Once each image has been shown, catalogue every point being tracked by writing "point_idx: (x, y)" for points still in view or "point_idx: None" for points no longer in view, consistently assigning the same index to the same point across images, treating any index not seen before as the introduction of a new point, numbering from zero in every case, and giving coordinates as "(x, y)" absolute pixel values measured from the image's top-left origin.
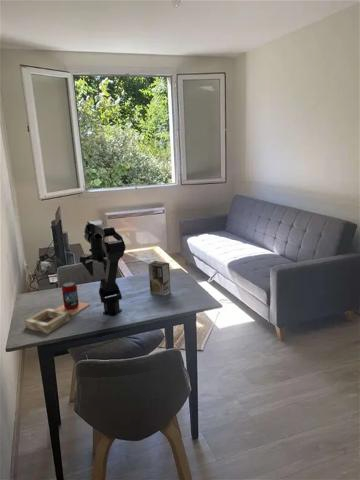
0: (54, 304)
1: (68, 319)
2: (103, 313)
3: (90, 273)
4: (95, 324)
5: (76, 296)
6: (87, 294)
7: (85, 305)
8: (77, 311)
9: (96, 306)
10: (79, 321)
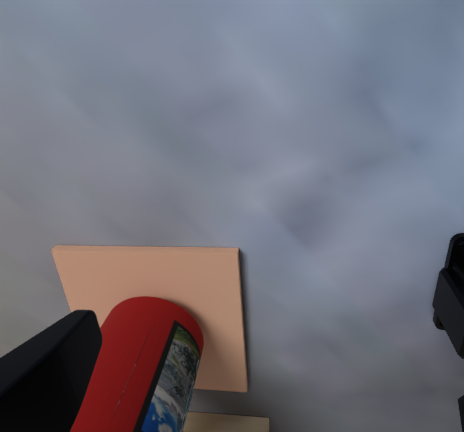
0: (12, 312)
1: (268, 430)
2: (443, 327)
3: (69, 407)
4: (458, 422)
5: (183, 403)
6: (42, 82)
7: (224, 280)
8: (242, 358)
9: (304, 245)
10: (336, 417)
